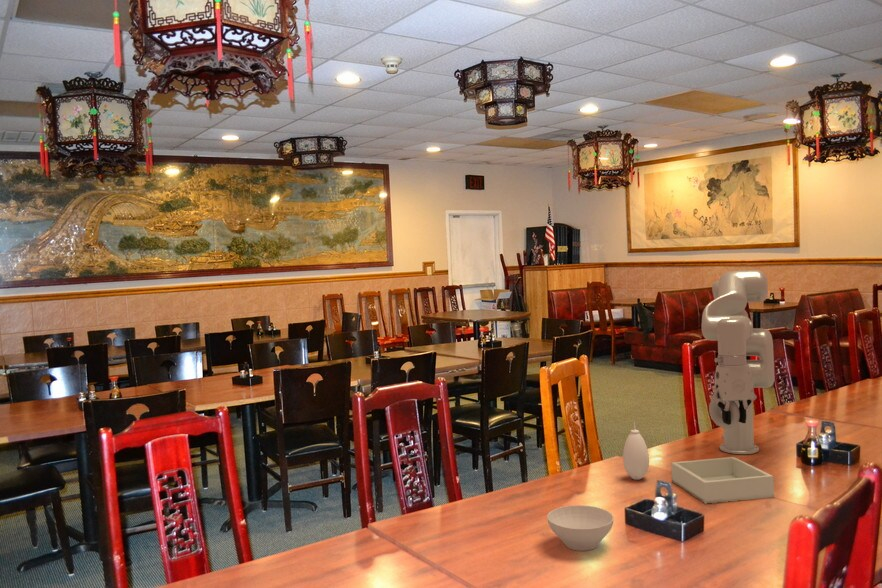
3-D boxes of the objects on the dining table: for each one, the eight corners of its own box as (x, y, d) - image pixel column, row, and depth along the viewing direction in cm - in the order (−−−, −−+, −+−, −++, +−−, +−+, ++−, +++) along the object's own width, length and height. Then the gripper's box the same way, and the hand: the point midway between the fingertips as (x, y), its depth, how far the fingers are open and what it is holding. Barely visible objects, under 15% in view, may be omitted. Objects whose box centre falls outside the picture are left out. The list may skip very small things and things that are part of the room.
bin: (671, 481, 214) (671, 462, 214) (734, 475, 217) (733, 456, 217) (705, 504, 194) (704, 482, 194) (774, 497, 197) (773, 476, 196)
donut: (707, 426, 212) (705, 393, 212) (715, 423, 214) (713, 391, 213) (736, 432, 204) (733, 398, 203) (743, 430, 205) (741, 396, 205)
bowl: (568, 527, 182) (567, 501, 182) (626, 540, 172) (624, 512, 172) (535, 549, 170) (534, 520, 170) (595, 564, 160) (594, 534, 160)
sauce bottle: (650, 483, 214) (648, 424, 214) (624, 482, 216) (622, 424, 215) (648, 475, 222) (646, 419, 221) (623, 475, 224) (620, 419, 223)
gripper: (712, 364, 199) (714, 428, 200) (766, 360, 202) (768, 423, 202) (698, 361, 207) (701, 422, 208) (751, 357, 209) (753, 418, 210)
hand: (734, 422), depth 205 cm, fingers closed on donut, 3 cm apart
